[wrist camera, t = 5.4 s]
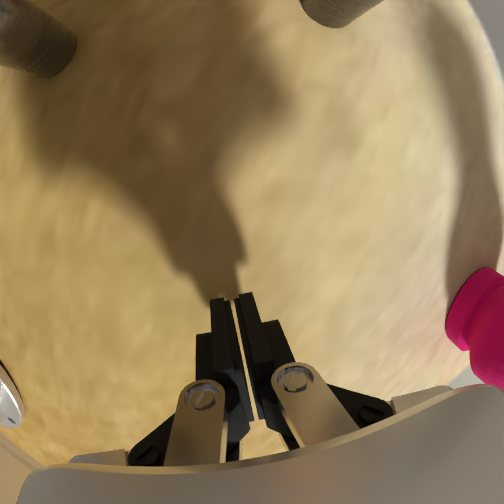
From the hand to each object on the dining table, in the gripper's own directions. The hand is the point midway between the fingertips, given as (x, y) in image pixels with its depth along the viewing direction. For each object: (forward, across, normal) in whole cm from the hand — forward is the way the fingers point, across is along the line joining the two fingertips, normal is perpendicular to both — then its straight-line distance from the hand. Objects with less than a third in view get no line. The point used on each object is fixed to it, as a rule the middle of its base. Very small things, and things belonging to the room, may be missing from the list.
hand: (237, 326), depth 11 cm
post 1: (+2, +6, -13) cm, 14 cm away
